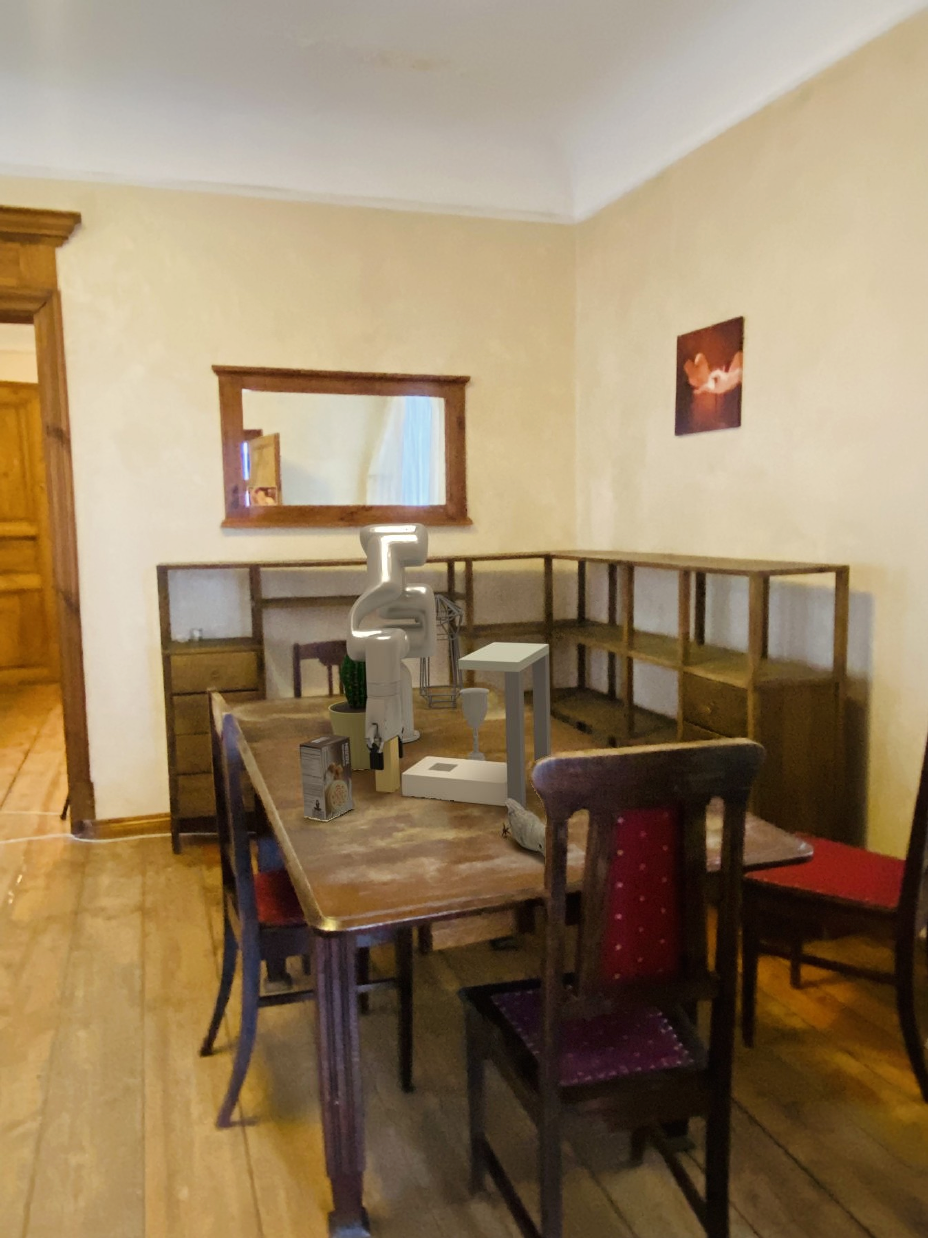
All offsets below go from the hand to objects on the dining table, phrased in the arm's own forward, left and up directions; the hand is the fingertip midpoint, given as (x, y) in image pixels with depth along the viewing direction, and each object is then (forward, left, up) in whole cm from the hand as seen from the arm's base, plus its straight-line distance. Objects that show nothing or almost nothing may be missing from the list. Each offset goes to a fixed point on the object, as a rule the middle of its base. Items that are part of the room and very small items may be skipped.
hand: (387, 763), depth 206 cm
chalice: (+12, +25, -6) cm, 29 cm away
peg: (0, 0, -6) cm, 6 cm away
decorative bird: (+41, -23, -7) cm, 47 cm away
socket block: (+17, +4, -6) cm, 19 cm away
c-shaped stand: (+27, +4, -6) cm, 28 cm away
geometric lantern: (-20, +79, -6) cm, 82 cm away
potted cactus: (-15, +16, -6) cm, 23 cm away
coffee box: (-5, -18, -6) cm, 20 cm away
